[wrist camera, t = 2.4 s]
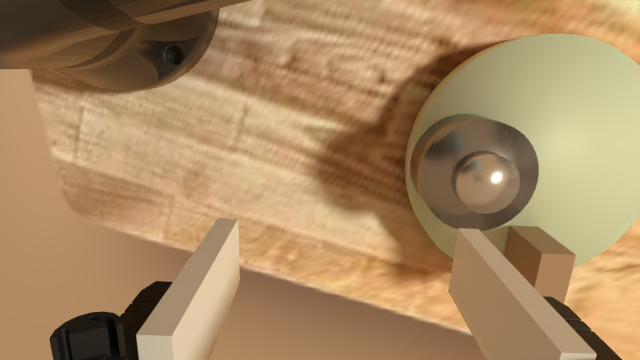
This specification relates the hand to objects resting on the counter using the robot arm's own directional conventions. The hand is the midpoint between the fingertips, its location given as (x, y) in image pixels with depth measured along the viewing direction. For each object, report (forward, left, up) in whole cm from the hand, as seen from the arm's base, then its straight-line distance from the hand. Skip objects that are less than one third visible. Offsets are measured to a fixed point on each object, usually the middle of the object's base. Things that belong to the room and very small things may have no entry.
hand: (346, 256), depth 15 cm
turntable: (+16, 0, -19) cm, 25 cm away
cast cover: (+10, 0, -16) cm, 19 cm away
